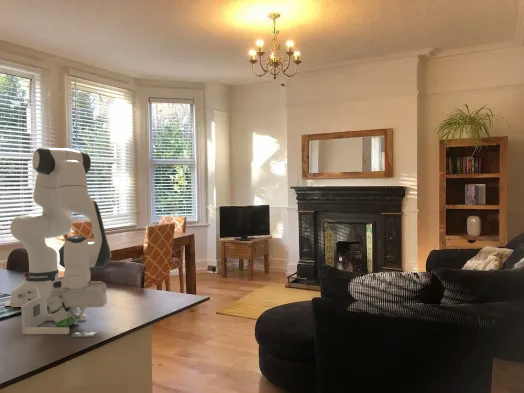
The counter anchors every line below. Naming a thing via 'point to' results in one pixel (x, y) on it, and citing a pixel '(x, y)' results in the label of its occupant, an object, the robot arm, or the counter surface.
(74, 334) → the picture frame
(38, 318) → the dock
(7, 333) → the counter surface
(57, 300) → the ink box
